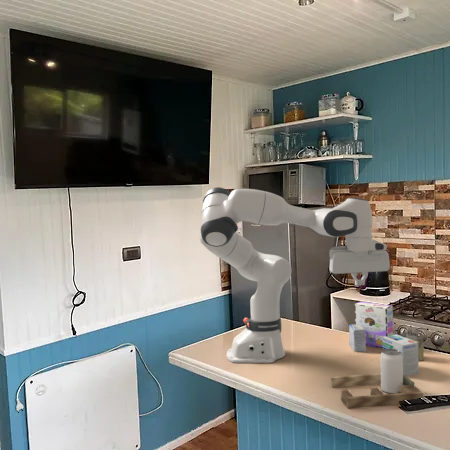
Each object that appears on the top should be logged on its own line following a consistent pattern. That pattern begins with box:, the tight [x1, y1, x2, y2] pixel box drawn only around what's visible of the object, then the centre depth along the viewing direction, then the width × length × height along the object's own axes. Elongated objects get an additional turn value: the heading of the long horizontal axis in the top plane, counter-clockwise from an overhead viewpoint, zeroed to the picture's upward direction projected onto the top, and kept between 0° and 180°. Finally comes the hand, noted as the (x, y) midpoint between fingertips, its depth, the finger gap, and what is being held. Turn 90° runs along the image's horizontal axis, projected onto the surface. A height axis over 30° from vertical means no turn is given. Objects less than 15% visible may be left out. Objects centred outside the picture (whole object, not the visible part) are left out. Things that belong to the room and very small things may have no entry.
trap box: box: [329, 372, 424, 410], centre depth 140 cm, size 22×16×4 cm
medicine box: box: [348, 324, 367, 353], centre depth 182 cm, size 8×4×9 cm, turn 179°
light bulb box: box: [381, 334, 419, 377], centre depth 158 cm, size 11×7×11 cm, turn 21°
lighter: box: [405, 329, 425, 362], centre depth 169 cm, size 7×4×10 cm, turn 27°
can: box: [379, 349, 403, 394], centre depth 143 cm, size 6×6×12 cm
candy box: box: [354, 300, 394, 350], centre depth 185 cm, size 14×6×16 cm, turn 44°
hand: (359, 285), depth 160 cm, fingers closed
